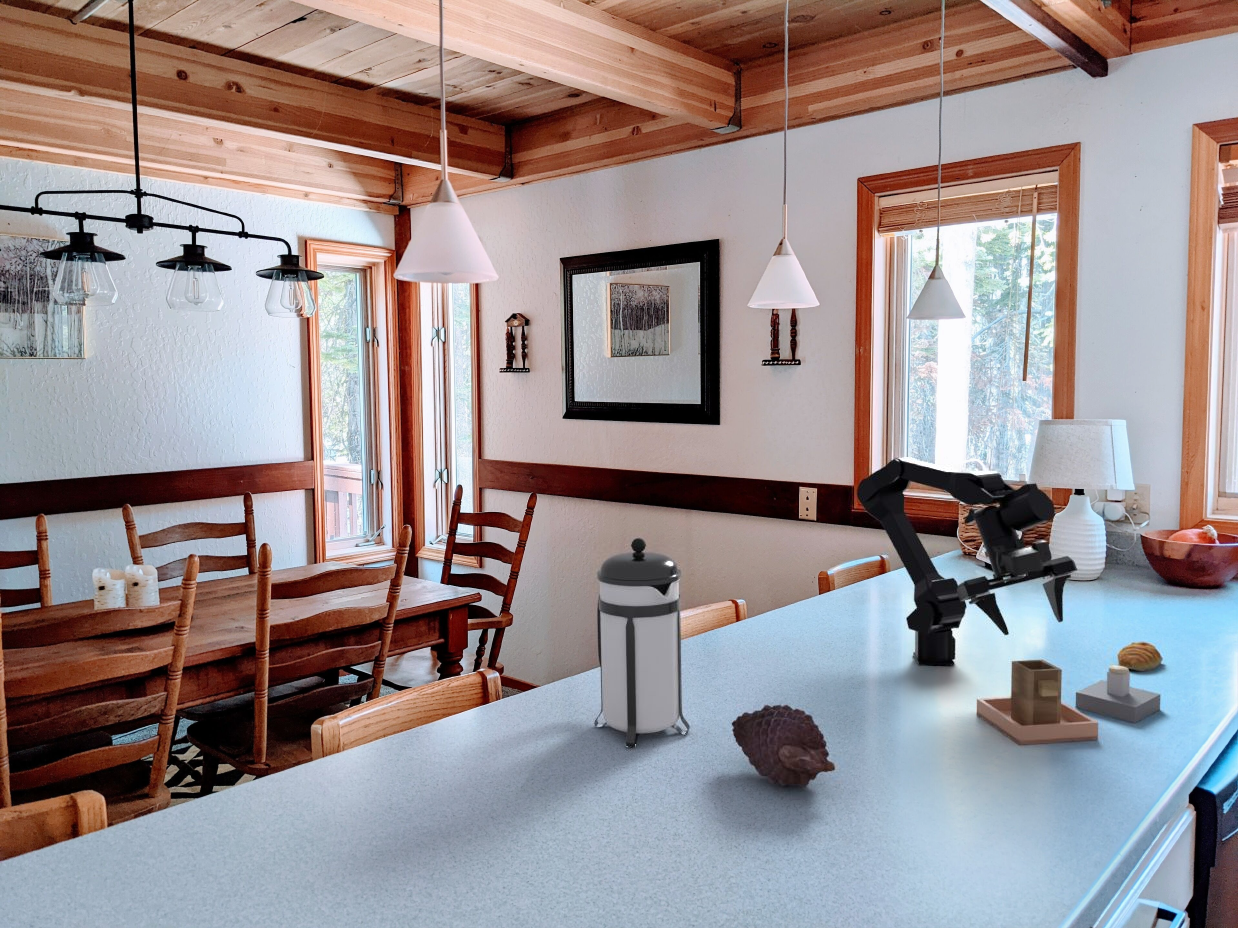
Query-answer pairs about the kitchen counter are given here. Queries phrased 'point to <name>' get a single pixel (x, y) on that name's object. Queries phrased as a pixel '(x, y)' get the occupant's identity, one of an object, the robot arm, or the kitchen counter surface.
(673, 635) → the coffee press
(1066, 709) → the terracotta tray
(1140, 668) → the pastry
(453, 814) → the kitchen counter surface
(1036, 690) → the walnut sleeve
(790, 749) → the pine cone
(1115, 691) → the block
